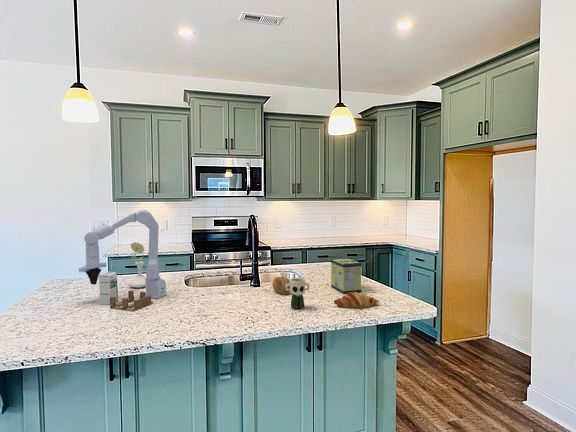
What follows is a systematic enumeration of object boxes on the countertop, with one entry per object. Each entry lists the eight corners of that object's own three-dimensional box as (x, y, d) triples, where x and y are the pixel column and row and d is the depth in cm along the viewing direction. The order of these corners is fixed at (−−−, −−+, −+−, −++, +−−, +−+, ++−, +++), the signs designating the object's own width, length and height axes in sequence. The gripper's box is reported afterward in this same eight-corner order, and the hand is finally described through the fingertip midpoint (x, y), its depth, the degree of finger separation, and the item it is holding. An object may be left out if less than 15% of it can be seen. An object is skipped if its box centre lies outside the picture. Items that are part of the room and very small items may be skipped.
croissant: (376, 310, 177) (373, 293, 180) (383, 306, 168) (381, 288, 171) (332, 311, 174) (330, 294, 178) (337, 307, 165) (335, 289, 169)
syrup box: (110, 305, 176) (109, 274, 175) (99, 304, 177) (98, 274, 176) (118, 301, 182) (117, 271, 181) (107, 300, 183) (106, 271, 182)
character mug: (286, 310, 166) (286, 281, 165) (284, 305, 173) (284, 278, 172) (310, 309, 167) (310, 281, 167) (308, 304, 174) (308, 277, 174)
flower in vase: (155, 285, 212) (154, 241, 210) (137, 290, 202) (136, 244, 200) (140, 282, 219) (139, 240, 217) (123, 287, 209) (121, 242, 207)
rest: (153, 302, 179) (153, 292, 178) (133, 311, 167) (133, 300, 166) (130, 300, 183) (130, 290, 183) (110, 308, 171) (109, 297, 171)
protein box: (347, 285, 210) (347, 258, 209) (361, 292, 195) (361, 263, 194) (330, 287, 207) (330, 259, 206) (343, 294, 192) (343, 264, 191)
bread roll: (277, 296, 189) (277, 281, 188) (269, 289, 203) (269, 274, 202) (295, 295, 192) (295, 279, 191) (286, 287, 206) (286, 273, 205)
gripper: (98, 253, 189) (99, 280, 190) (73, 258, 175) (74, 287, 176) (109, 254, 187) (110, 281, 188) (84, 259, 173) (86, 288, 174)
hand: (93, 284), depth 182 cm, fingers closed
